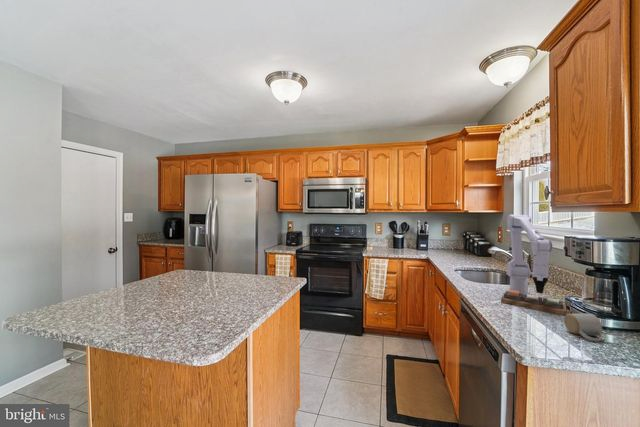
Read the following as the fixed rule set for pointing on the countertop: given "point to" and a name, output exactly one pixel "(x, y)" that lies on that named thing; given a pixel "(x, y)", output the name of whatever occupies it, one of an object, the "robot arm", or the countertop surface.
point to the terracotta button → (514, 292)
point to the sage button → (552, 300)
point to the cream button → (532, 296)
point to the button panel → (534, 303)
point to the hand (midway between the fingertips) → (539, 292)
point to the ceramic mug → (584, 325)
